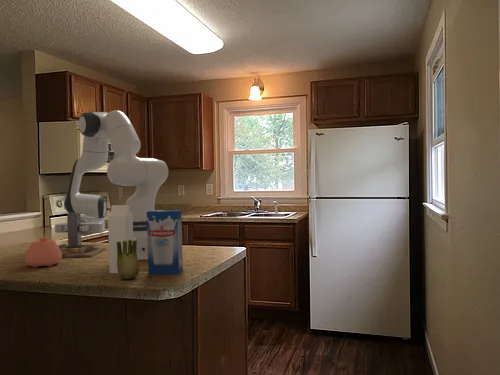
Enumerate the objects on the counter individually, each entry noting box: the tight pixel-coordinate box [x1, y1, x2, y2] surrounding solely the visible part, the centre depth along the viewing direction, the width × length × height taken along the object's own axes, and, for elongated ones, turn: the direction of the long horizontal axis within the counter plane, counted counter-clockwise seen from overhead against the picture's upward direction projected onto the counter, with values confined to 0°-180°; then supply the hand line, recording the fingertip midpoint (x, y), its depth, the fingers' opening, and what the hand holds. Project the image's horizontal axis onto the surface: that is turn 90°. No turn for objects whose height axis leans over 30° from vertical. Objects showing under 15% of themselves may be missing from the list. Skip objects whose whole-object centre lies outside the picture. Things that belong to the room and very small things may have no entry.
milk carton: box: [147, 209, 184, 275], centre depth 138 cm, size 10×6×20 cm, turn 87°
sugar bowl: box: [24, 236, 63, 269], centre depth 156 cm, size 12×14×10 cm
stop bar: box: [66, 213, 83, 248], centre depth 178 cm, size 4×4×16 cm
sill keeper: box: [57, 243, 107, 259], centre depth 178 cm, size 22×18×3 cm
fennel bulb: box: [117, 239, 140, 280], centre depth 130 cm, size 6×5×12 cm
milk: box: [107, 204, 133, 274], centre depth 141 cm, size 6×6×22 cm
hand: (73, 229), depth 177 cm, fingers open, 5 cm apart
